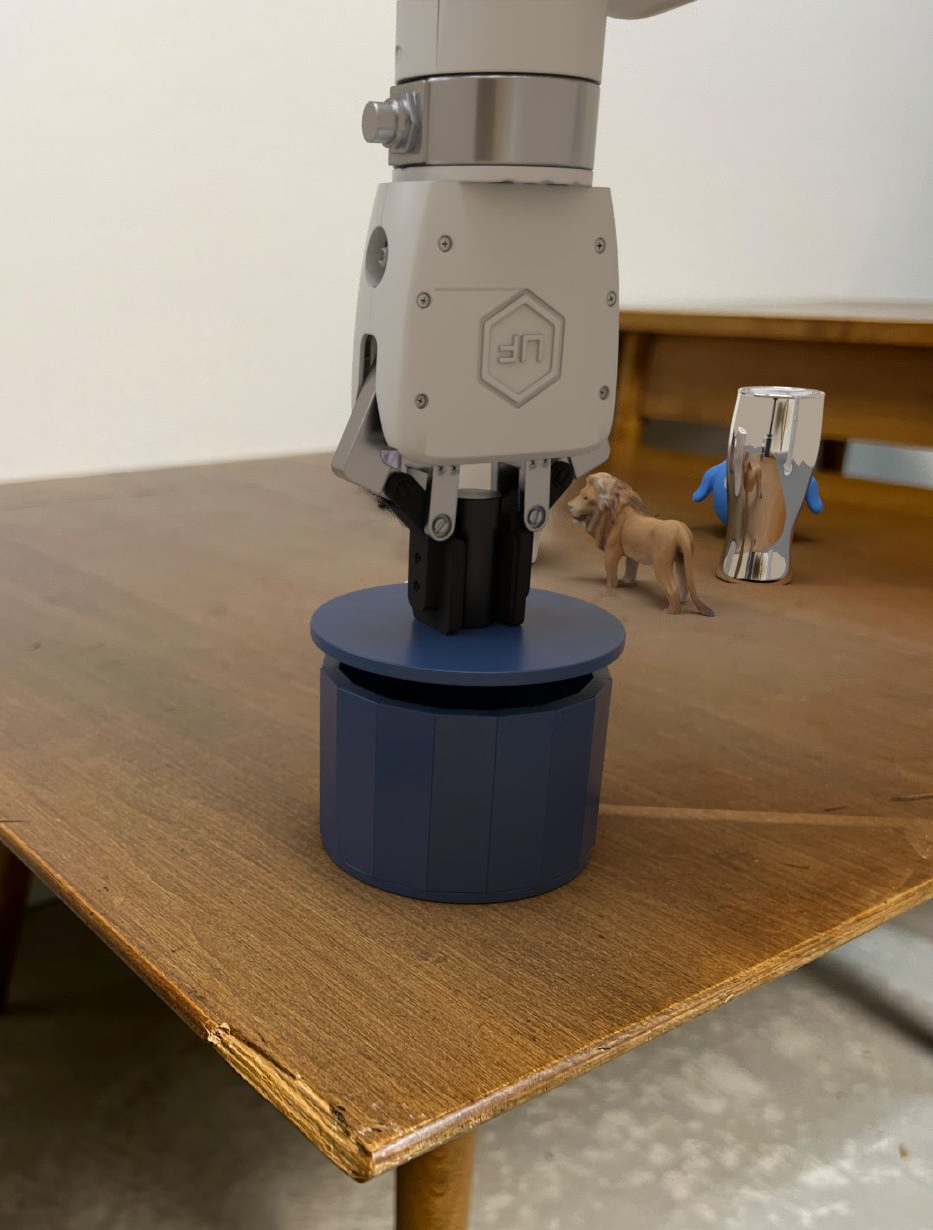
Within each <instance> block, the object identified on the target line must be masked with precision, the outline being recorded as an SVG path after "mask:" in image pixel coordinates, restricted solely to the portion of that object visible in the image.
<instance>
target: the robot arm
mask: <svg viewBox="0 0 933 1230" xmlns="http://www.w3.org/2000/svg"><path fill="white" fill-rule="evenodd" d="M697 1H698V0H396V11H395V12H396V13H395V46H394V47H395V48H394V85H391V86H390V87H389V97H388V98H386V99H385V100H384V101H373V100H372V101H371V100H369V101H368V102H367V103H366V104H365V105H364V108H363V111H362V116H361V131H362V133H361V134H362V137H363V139H364V141H365V142H366V143H368V144H381V145H382V146H383V147H384V148H385V149H388V155H387V165H388V167H389V166H391V167H392V170H391V181H390V182H381V183H378V184H377V186H376V191H375V196H374V199H373V204H372V209H371V214H370V217H369V223H368V227H367V233H366V238H365V243H364V249H363V254H362V255H363V256H362V262H361V269H360V276H359V283H358V292H357V299H356V310H355V321H354V330H353V331H354V332H353V333H354V334H353V342H352V343H353V344H352V345H353V346H352V363H351V389H350V393H351V394H350V396H351V397H350V399H351V402H350V403H351V405H350V406H351V409H350V410H351V413H350V415H349V419H348V421H347V424H346V425H345V428H344V430H343V433H342V436H341V438H340V440H339V442H338V444H337V447H336V450H335V452H334V455H333V456H332V460H331V463H330V467H331V471H332V473H333V475H335V476H336V477H338V478H340V479H342V480H344V481H346V482H348V483H351V484H352V485H355V486H357V487H359V488H362V489H363V490H366V491H368V492H370V493H372V494H375V495H378V496H379V497H380V498H381V499H382V501H383V502H384V503H383V504H385V505H386V506H387V507H388V508H389V509H390V510H391V512H392V513H393V514H394V515H395V516H396V517H397V519H398V522H399V524H400V525H401V526H402V527H404V528H406V529H408V530H409V536H408V537H409V539H408V566H407V567H408V568H407V581H408V600H409V603H410V605H411V607H412V611H413V615H414V617H415V618H416V619H417V620H419V621H421V622H423V623H424V624H426V625H428V626H430V627H432V628H433V629H435V630H437V631H439V632H441V633H442V634H444V635H446V634H454V633H457V632H458V630H459V629H461V626H462V611H463V593H464V574H465V556H466V546H465V543H464V541H463V540H461V539H458V538H456V537H454V528H455V520H456V509H457V498H458V487H459V476H460V465H467V464H481V463H491V490H493V491H496V492H499V493H501V494H502V511H501V527H500V542H499V558H498V574H497V589H496V605H495V618H496V619H498V620H500V621H502V622H504V623H506V624H508V625H510V626H513V625H520V624H522V623H523V622H524V619H525V607H526V597H527V596H528V594H529V591H530V588H531V580H532V579H531V578H532V577H531V576H532V567H533V565H532V564H533V563H532V553H533V540H534V532H537V531H540V530H541V529H542V530H543V529H544V528H545V527H546V525H547V523H548V522H549V515H550V510H551V509H552V508H553V506H554V505H555V504H556V503H557V502H558V500H560V498H561V497H562V496H563V495H564V493H565V492H566V491H567V490H568V489H569V487H571V485H572V483H573V481H574V480H578V479H581V478H582V477H584V476H585V475H586V474H588V473H590V472H591V471H593V470H594V469H596V468H598V467H600V466H601V465H603V464H604V463H605V462H606V461H607V460H608V459H609V457H610V454H611V446H610V442H609V436H610V434H611V431H612V426H613V421H614V416H615V407H616V396H617V395H616V394H617V384H618V383H617V381H618V366H619V365H618V364H619V341H620V272H619V251H618V248H619V247H618V239H617V237H618V236H617V227H616V219H615V218H616V217H615V212H614V210H615V209H614V205H613V197H612V191H611V187H609V186H608V187H607V186H593V181H594V169H595V160H596V159H595V158H596V147H597V137H598V126H599V125H598V124H599V112H600V111H599V110H600V101H601V99H600V98H601V87H600V86H601V85H602V78H603V67H604V66H603V65H604V53H605V44H606V43H605V42H606V31H607V18H611V19H614V20H625V21H626V20H627V21H634V20H635V21H638V20H644V19H649V18H652V17H656V16H658V15H662V14H665V13H667V12H670V11H673V10H676V9H678V8H680V7H683V6H686V5H689V4H691V3H695V2H697ZM382 450H386V451H398V452H399V453H400V454H401V455H402V461H401V471H400V470H398V469H396V468H394V467H392V466H390V465H388V464H387V463H385V462H384V461H383V459H382V455H381V451H382ZM378 496H377V497H378Z"/></svg>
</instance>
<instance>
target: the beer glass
mask: <svg viewBox="0 0 933 1230" xmlns="http://www.w3.org/2000/svg"><path fill="white" fill-rule="evenodd" d="M825 396H826V392H824V391H822V390H818V389H813V388H806V387H805V388H804V387H795V386H794V387H793V386H777V385H775V386H774V385H772V386H771V385H770V386H769V385H768V386H767V385H764V386H763V385H759V386H758V385H757V386H743V387H740V388H738V389H737V395H736V400H735V405H734V410H733V413H732V419H731V423H730V430H729V435H728V440H727V441H728V442H727V449H726V458H725V460H726V490H727V526H726V532H725V539H724V543H723V547H722V550H721V553H720V556H719V559H718V562H717V565H716V568H715V575H716V576H717V578H719V579H720V580H723V581H726V582H728V583H731V584H748V585H776V586H777V585H778V586H779V585H780V586H784V585H787V584H789V583H790V582H791V581H792V579H793V578H792V577H793V566H792V565H793V562H792V549H793V540H794V534H795V531H796V527H797V523H798V520H799V517H800V514H801V512H802V511H801V508H802V505H803V506H804V503H805V497H806V494H807V491H808V488H809V485H810V482H811V479H812V476H813V475H814V472H815V469H816V465H817V460H818V455H819V450H820V444H821V436H822V429H823V418H824V406H825V405H824V404H825ZM813 477H814V476H813ZM800 511H801V512H800Z"/></svg>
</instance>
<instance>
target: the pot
mask: <svg viewBox="0 0 933 1230" xmlns="http://www.w3.org/2000/svg"><path fill="white" fill-rule="evenodd" d="M612 689H613V677H612V674H611V672H610V669H609V665H608V666H606V667H604V668H602V669H600V670H597V671H594V672H592V673H589V674H586V675H582V676H578V677H575V678H570V679H565V680H560V681H555V682H547V683H540V684H531V685H518V686H457V685H442V684H433V683H423V682H417V681H410V680H403V679H398V678H393V677H388V676H383V675H379V674H375V673H372V672H368V671H364V670H361V669H358V668H355V667H352V666H349V665H347V664H345V663H342V662H340V661H338V660H336V659H334V658H332V657H330V656H329V655H327V654H325V653H324V655H323V658H322V662H321V666H320V668H319V834H320V835H321V836H320V837H321V842H322V846H323V848H324V850H325V852H326V853H327V855H328V856H329V858H330V859H331V861H333V863H335V864H336V865H337V866H338V867H339V868H340V869H342V870H343V871H344V872H346V873H347V874H349V875H350V876H351V877H354V878H355V879H357V880H359V881H361V882H363V883H365V884H367V885H370V886H371V887H372V886H373V887H375V888H378V889H380V890H382V891H386V892H388V893H389V892H390V893H391V894H392V893H393V894H396V895H399V896H404V897H408V898H411V899H412V898H413V899H416V900H417V899H418V900H423V901H424V900H425V901H430V902H438V903H439V902H440V903H451V904H490V903H501V902H510V901H515V900H516V901H517V900H522V899H526V898H531V897H534V896H538V895H542V894H545V893H547V892H549V891H552V890H554V889H557V888H559V887H561V886H564V885H565V884H567V883H569V882H570V881H572V880H573V879H574V878H576V877H577V876H578V875H579V874H581V872H582V871H583V870H584V869H585V868H586V867H587V865H588V863H589V861H590V859H591V856H592V851H593V848H594V846H596V839H597V829H598V819H599V809H600V800H601V791H602V783H603V773H604V763H605V754H606V746H607V745H606V744H607V736H608V726H609V716H610V706H611V699H612Z"/></svg>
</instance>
